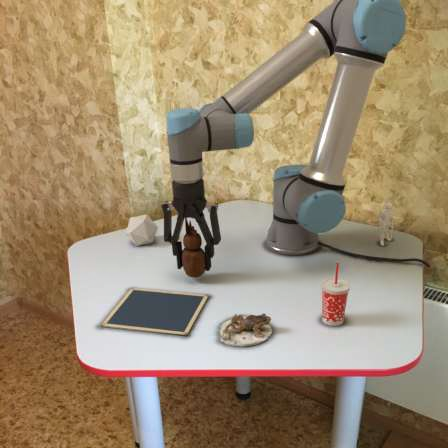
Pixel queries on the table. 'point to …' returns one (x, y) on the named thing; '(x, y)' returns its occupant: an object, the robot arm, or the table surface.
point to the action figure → (385, 223)
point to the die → (141, 230)
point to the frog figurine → (245, 330)
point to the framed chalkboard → (156, 311)
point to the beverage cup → (334, 299)
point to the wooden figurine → (193, 252)
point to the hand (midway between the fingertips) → (194, 267)
